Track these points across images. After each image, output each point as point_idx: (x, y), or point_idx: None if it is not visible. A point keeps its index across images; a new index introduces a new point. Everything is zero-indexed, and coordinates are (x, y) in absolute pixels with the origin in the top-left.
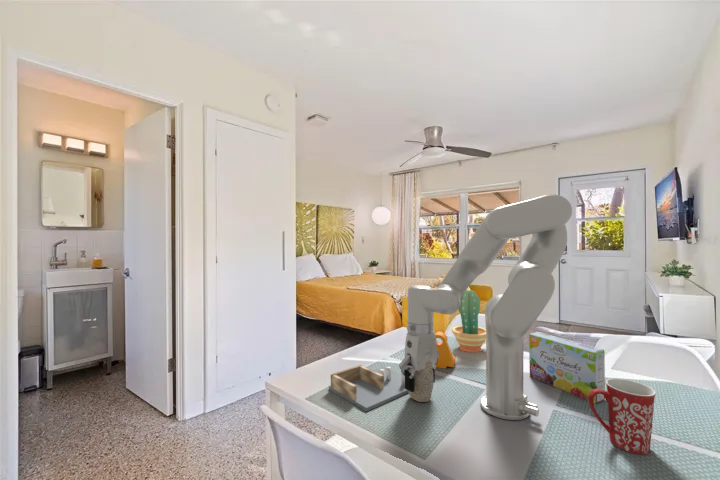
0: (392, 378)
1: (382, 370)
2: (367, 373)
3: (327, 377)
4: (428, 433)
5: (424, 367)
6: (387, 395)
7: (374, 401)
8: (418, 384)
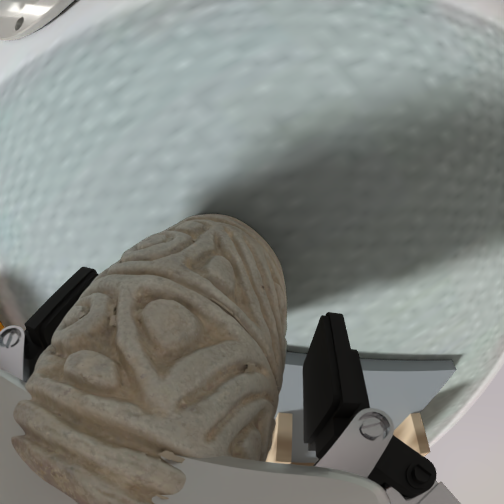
0: None
1: None
2: None
3: None
4: (497, 83)
5: (200, 474)
6: None
7: (405, 383)
8: (268, 334)
